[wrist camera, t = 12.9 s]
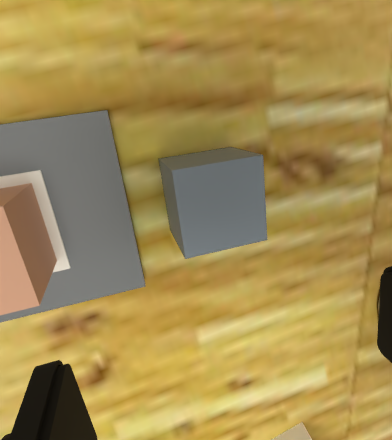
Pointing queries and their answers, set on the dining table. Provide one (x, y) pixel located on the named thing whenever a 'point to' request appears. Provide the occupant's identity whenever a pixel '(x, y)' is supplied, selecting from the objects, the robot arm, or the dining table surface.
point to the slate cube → (215, 199)
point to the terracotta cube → (23, 250)
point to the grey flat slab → (75, 205)
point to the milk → (294, 433)
